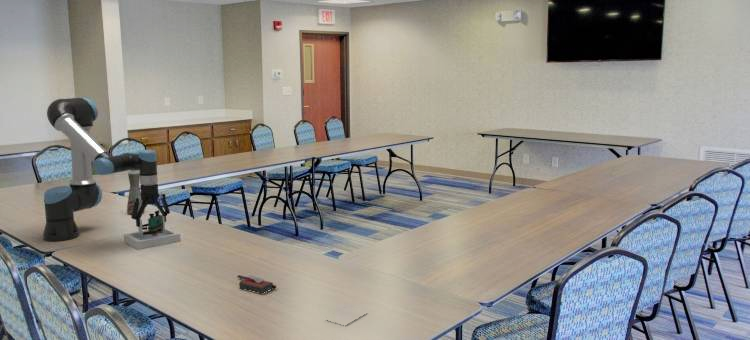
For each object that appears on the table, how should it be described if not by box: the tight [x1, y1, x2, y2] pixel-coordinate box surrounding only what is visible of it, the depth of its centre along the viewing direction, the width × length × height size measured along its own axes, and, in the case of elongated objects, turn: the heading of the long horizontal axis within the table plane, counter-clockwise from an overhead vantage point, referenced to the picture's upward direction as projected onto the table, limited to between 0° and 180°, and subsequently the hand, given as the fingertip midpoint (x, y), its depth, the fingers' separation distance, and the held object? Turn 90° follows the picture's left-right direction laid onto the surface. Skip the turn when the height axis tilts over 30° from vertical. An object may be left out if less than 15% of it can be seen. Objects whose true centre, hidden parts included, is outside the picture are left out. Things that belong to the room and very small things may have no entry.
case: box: [123, 226, 181, 250], centre depth 277 cm, size 16×20×4 cm
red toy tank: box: [237, 274, 277, 294], centre depth 223 cm, size 9×4×20 cm
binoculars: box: [142, 210, 163, 236], centre depth 276 cm, size 9×11×10 cm
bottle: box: [126, 170, 142, 215], centre depth 326 cm, size 9×9×28 cm
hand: (151, 231), depth 277 cm, fingers closed on binoculars, 10 cm apart
